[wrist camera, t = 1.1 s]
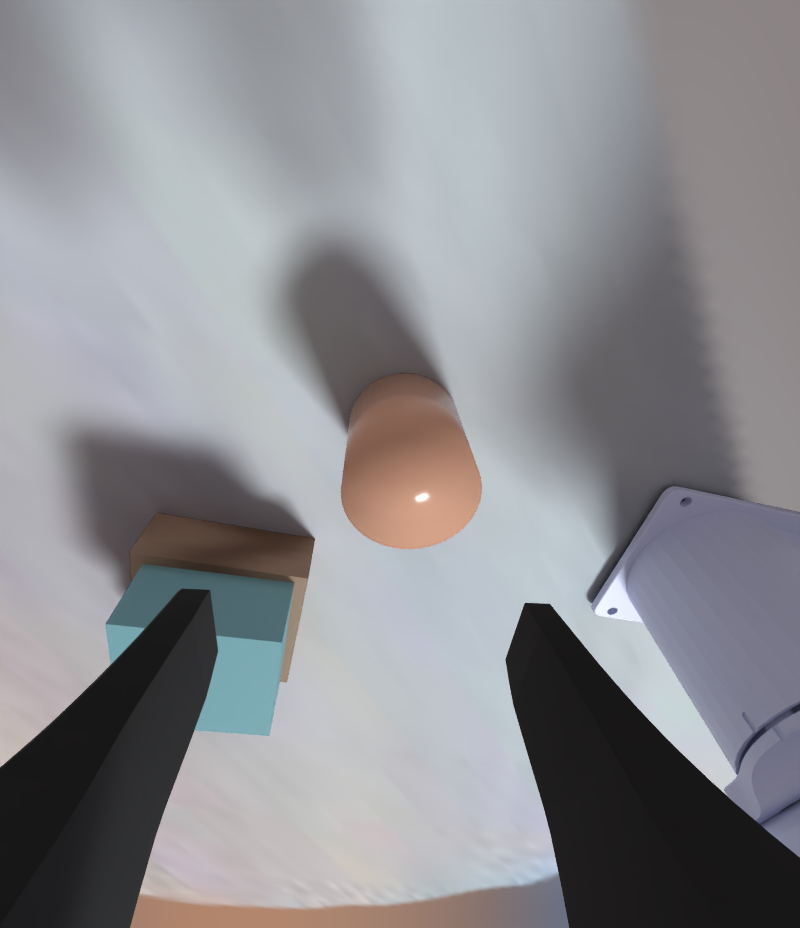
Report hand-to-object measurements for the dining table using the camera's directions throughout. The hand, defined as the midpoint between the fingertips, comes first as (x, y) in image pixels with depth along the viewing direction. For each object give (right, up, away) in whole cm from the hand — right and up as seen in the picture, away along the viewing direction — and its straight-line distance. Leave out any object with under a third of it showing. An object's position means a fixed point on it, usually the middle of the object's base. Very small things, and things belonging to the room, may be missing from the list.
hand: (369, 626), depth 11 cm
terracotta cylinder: (+1, +5, +8) cm, 10 cm away
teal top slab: (-7, -3, +10) cm, 13 cm away
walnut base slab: (-8, -2, +12) cm, 14 cm away
